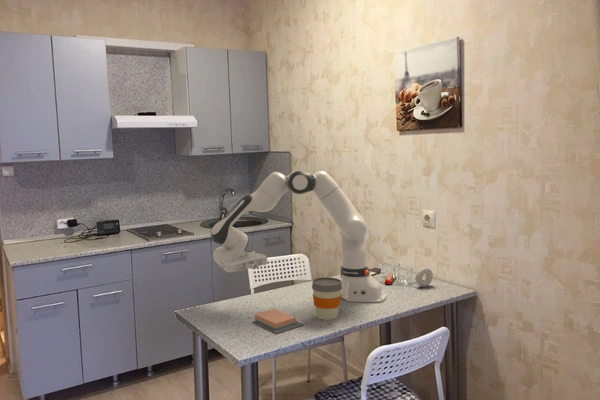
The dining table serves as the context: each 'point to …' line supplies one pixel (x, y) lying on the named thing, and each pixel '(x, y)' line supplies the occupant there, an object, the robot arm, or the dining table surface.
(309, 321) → the dining table surface
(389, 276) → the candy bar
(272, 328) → the mat
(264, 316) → the tile
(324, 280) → the reusable coffee cup
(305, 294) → the dining table surface
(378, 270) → the chocolate bar
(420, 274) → the donut
